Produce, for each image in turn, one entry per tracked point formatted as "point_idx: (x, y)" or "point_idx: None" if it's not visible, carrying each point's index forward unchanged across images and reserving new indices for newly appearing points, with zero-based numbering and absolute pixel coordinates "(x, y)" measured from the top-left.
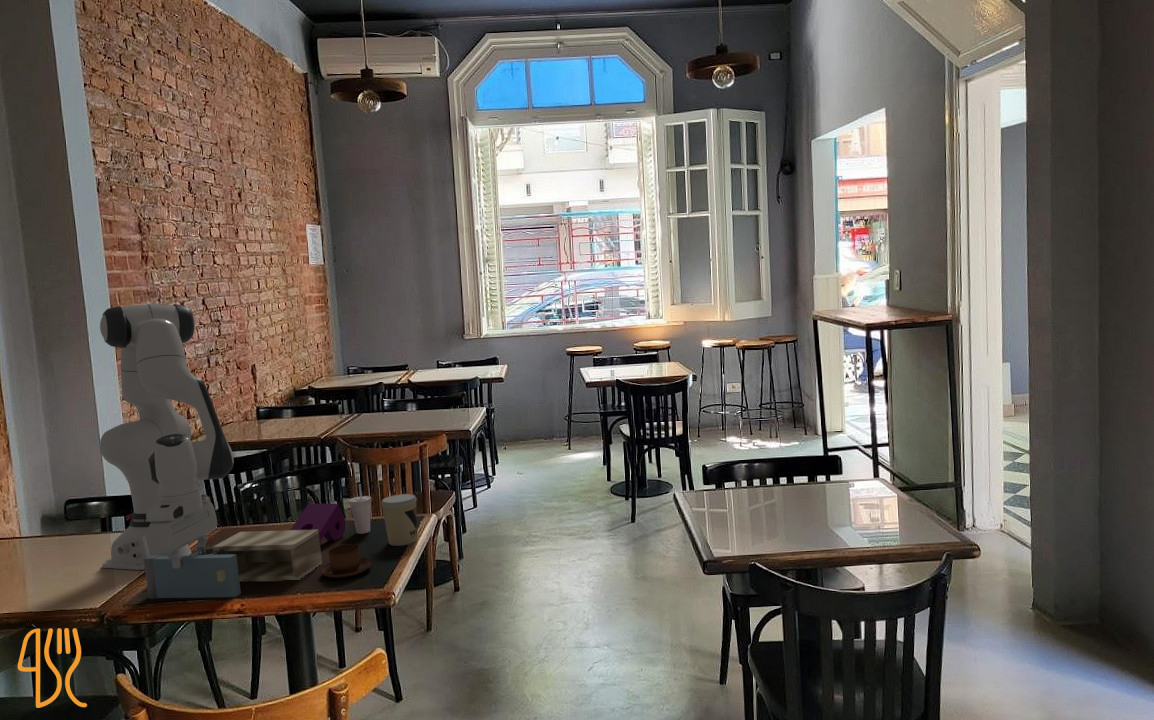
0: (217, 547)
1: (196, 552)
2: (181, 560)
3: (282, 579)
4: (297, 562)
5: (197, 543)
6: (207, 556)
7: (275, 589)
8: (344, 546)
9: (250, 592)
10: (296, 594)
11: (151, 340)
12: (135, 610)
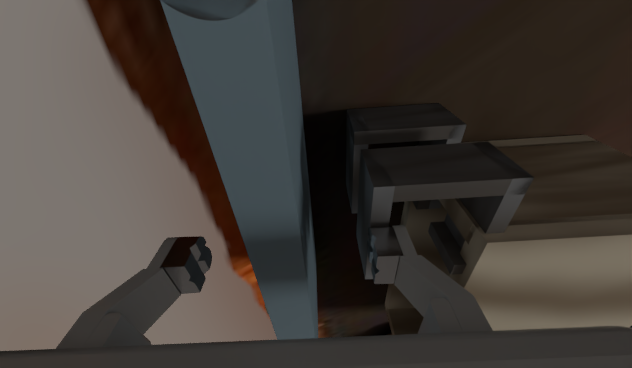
0: (475, 257)
1: (374, 239)
2: (191, 287)
3: (388, 288)
4: None
5: (420, 274)
6: (292, 319)
7: (339, 293)
8: None
9: (323, 265)
10: None
11: None
12: (107, 7)
